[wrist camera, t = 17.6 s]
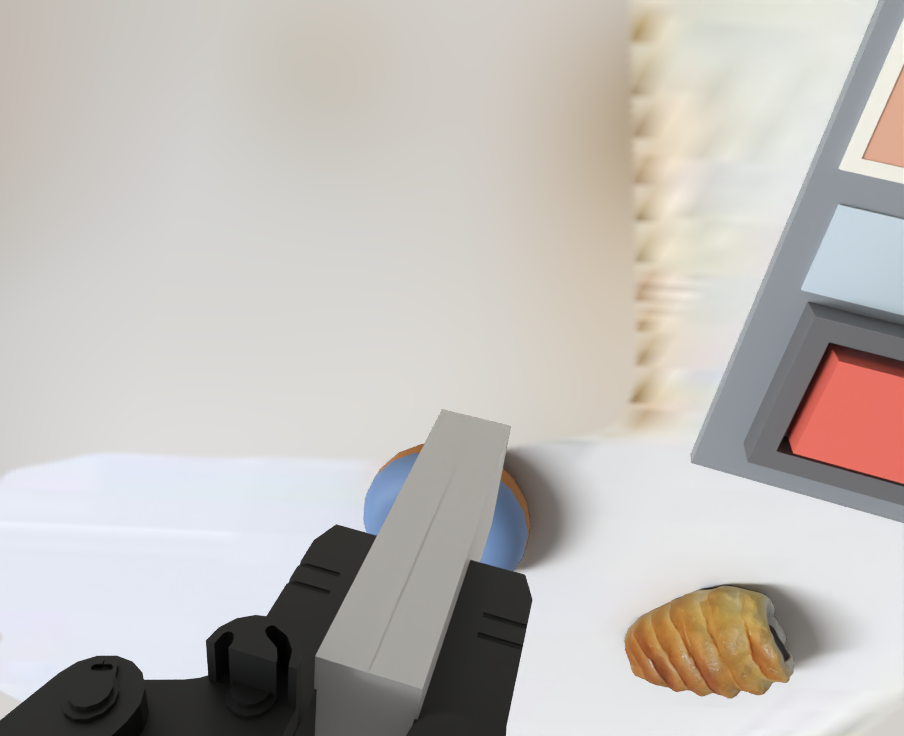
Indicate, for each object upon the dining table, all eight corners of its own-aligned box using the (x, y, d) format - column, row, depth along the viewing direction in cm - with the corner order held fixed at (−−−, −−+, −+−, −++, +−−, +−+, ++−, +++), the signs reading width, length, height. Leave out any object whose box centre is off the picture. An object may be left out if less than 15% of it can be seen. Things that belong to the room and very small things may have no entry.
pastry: (650, 680, 47) (650, 731, 44) (606, 604, 45) (602, 651, 42) (799, 652, 43) (812, 705, 40) (757, 567, 41) (766, 615, 38)
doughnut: (354, 529, 47) (335, 578, 43) (399, 405, 42) (382, 446, 38) (497, 581, 47) (492, 634, 43) (556, 462, 43) (556, 509, 38)
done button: (829, 342, 33) (839, 361, 31) (942, 371, 32) (959, 392, 31) (786, 431, 35) (793, 453, 34) (890, 460, 35) (903, 483, 33)
